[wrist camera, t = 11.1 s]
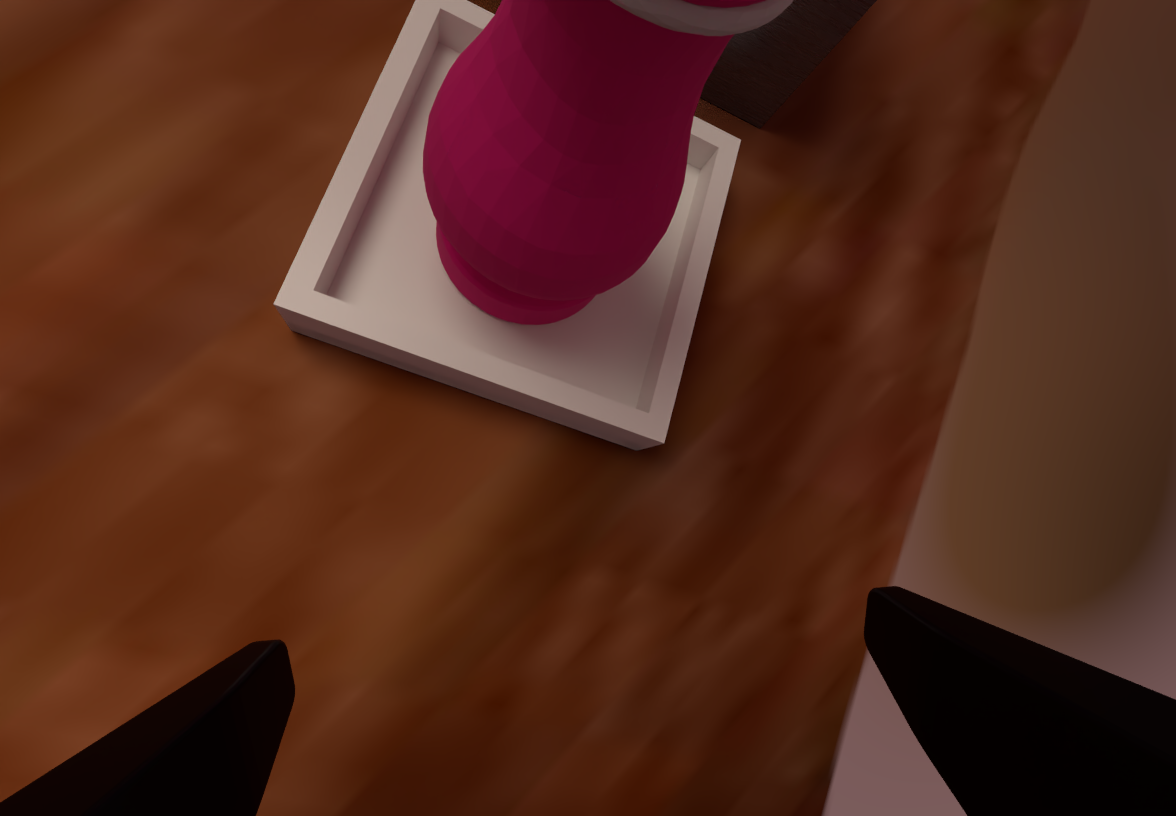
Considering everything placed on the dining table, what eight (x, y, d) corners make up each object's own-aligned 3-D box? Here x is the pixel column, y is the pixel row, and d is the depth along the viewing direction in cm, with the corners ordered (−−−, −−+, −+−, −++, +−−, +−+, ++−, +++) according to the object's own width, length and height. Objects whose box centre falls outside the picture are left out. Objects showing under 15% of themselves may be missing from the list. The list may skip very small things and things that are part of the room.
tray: (636, 450, 21) (664, 443, 19) (291, 330, 18) (273, 304, 16) (709, 175, 24) (740, 139, 22) (424, 36, 22) (425, -21, 19)
